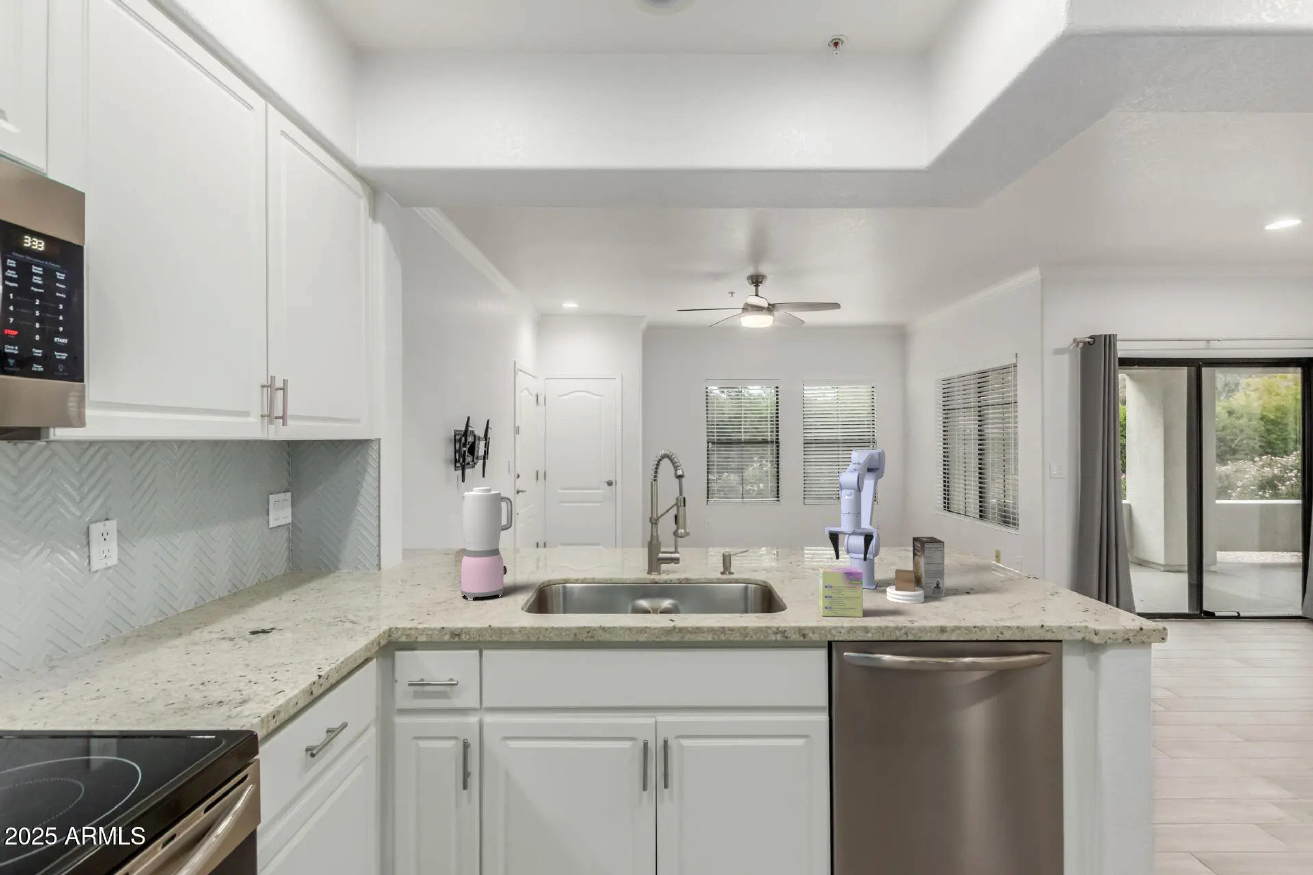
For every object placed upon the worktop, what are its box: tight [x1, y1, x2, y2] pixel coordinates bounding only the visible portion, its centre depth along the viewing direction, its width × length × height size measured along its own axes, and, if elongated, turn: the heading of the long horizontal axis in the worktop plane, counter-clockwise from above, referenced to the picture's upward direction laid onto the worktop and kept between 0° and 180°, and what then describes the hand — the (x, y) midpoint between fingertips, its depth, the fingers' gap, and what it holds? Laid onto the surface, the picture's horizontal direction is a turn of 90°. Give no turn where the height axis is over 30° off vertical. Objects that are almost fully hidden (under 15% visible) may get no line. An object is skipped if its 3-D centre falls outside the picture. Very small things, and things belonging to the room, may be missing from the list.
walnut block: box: [894, 568, 915, 592], centre depth 187 cm, size 5×5×5 cm
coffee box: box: [912, 536, 945, 598], centre depth 195 cm, size 9×6×16 cm
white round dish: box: [886, 585, 925, 605], centre depth 187 cm, size 10×10×4 cm
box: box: [818, 566, 864, 618], centre depth 172 cm, size 10×6×12 cm, turn 84°
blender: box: [460, 486, 513, 599], centre depth 196 cm, size 16×12×32 cm
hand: (851, 559), depth 192 cm, fingers open, 7 cm apart
